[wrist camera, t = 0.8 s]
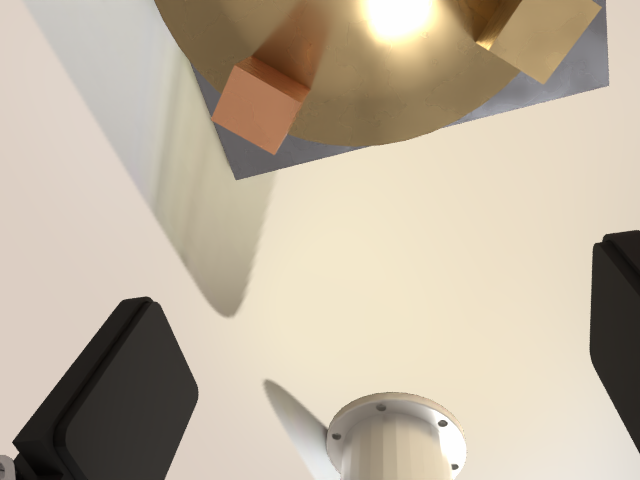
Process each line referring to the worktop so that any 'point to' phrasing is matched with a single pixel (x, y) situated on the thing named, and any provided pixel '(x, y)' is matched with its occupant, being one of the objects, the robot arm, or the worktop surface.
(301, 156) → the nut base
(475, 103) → the brass lugged disc
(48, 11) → the worktop surface
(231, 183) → the worktop surface
